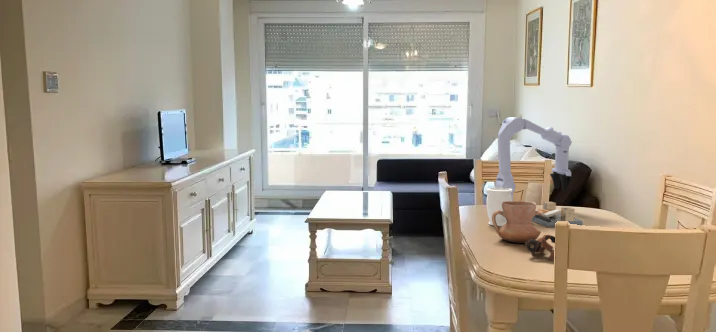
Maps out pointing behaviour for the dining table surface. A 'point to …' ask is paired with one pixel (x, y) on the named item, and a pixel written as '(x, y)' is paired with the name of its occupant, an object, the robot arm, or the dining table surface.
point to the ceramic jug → (517, 221)
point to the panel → (565, 215)
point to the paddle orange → (544, 211)
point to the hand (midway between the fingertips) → (560, 189)
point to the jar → (497, 203)
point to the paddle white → (552, 213)
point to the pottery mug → (539, 243)
